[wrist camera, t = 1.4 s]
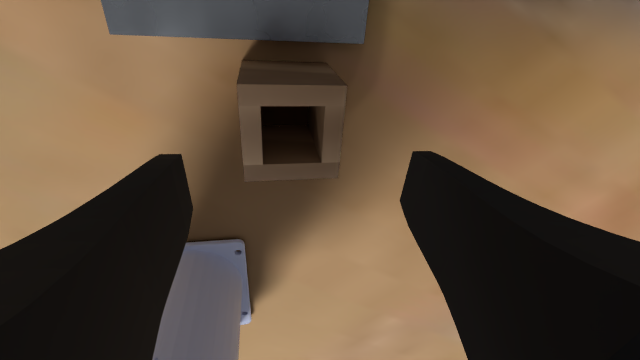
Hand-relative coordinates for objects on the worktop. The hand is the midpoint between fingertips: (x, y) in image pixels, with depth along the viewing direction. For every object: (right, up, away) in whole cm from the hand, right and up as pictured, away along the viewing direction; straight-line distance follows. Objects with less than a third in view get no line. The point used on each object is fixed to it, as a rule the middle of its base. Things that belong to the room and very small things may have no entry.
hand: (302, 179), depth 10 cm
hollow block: (-1, +4, +8) cm, 10 cm away
